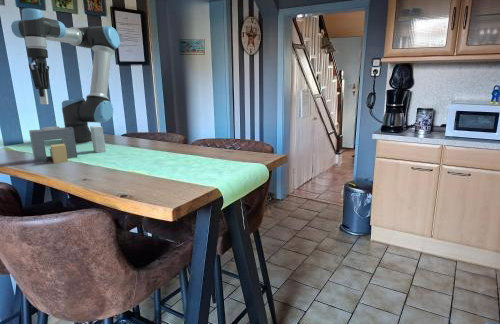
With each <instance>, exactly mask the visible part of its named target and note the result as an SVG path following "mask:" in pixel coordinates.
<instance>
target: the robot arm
mask: <svg viewBox="0 0 500 324" xmlns="http://www.w3.org/2000/svg"><path fill="white" fill-rule="evenodd" d="M10 26H11V27H10V28H11V32H12V34H13V35H14V36H15V37H17V38H20V39H25V40H24V42H25V46H26V47H27V48H26V55H27V57H28V58H29V59H31V64H30V63H29V64H28V67H29V70H30V73H31V76H32V77H31V78H32V81H33V85H34V88H35V90H38V96H39V102H40V105H49V97H48V90H50V73H49V72H50V65H47V62H46V60H45V59H48V58H49V53H48V49H47V48H48V44H47V41H51V42H58V43H67V44H69V45H71V46H74V47H81V48H85V49H90V50H92V51H93V60H92V61H93V62H92V71H91V81H90V92H89V94H87V95H86V98H82V97H80V98H73V99H72V98H71V99H65V100H63V101H61V111H62V118H63V124H64V127H72V128H73V129H74V136H75V143H84V142H85V143H86V142H90V141H92V136H91V130H90V127H89V125H88V124H89V123H98V124H99V123H107V122H109V121H110V120H111V119H112V117H113V115H114V105H113V104H112V102H110V100H111V99H110V98H109V97H108V90H109V79H110V70H111V69H110V68H111V58H112V55H114V54H115V49H118V48H119V47H120V44H121V42H120V36H119V34H118V32H117V30H116V29H115V28H114V27H112V26H110V25H109V26H108V25H102V26H101V25H100V26H99V25H98V26H81V27H75V26H71V27H66V26H65V24H64V23H63V22H61V21H59V20H56V19H52V18H48V17H45V16H44V14H43V11H42V10H40V9H37V8H27V7H26V8H22V10H21V19H19V20H14V21H13V22H12V23H11V25H10Z"/></svg>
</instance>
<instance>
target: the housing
mask: <svg viewBox="0 0 500 324" xmlns="http://www.w3.org/2000/svg"><path fill="white" fill-rule="evenodd" d="M28 131H29V137H30V143H31V148H32V156H33V161H34V163H44V162H48V157H47V151H46V144H45V141H53V140H61V142H62V143H61V144H64V145H66V152H67V159H74V158H78V151H77V145H76V143H75V136H74V129H73V128H72V127H65V126H64V127H60V126H59V125H57V126H45V127H42V128H41V129H33V130H32V129H31V130H30V129H29V130H28Z"/></svg>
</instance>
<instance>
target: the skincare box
mask: <svg viewBox="0 0 500 324" xmlns="http://www.w3.org/2000/svg"><path fill="white" fill-rule="evenodd" d="M89 129H90V131H91V136H92V140H91V143H92V147H93V151H94V152H95V153H105V152H106V151H107V150H106V143H105V137H104V129H103V126H101V125H92V126H90V127H89Z"/></svg>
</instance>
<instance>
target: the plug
mask: <svg viewBox="0 0 500 324" xmlns="http://www.w3.org/2000/svg"><path fill="white" fill-rule="evenodd" d="M49 154H50V157H51V159H52V162H53V163H54V164H59V163H66V162H67V163H68V162H69V160H68V159H69V158H68V159H67V152H66V145H64V144H63V143H57V144H50V148H49Z"/></svg>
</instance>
